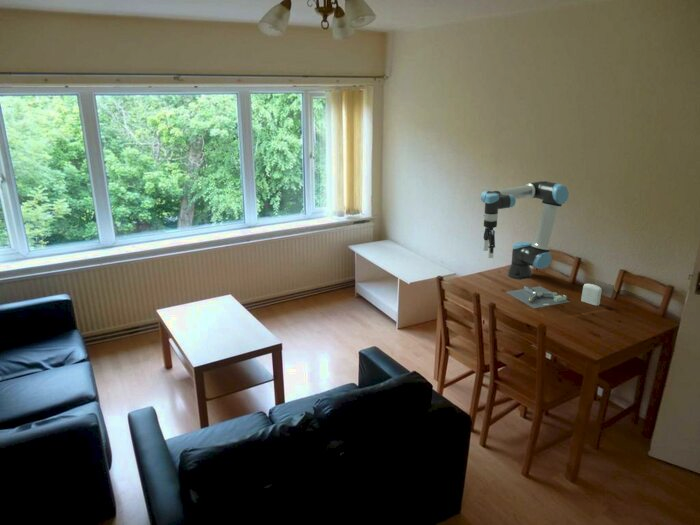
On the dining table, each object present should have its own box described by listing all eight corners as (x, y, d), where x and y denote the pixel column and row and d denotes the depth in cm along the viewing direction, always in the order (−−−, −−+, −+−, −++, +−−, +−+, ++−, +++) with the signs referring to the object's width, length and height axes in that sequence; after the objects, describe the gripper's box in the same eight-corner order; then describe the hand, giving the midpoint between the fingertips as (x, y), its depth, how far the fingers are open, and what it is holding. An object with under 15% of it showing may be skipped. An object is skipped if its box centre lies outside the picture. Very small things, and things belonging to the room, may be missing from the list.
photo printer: (579, 302, 294) (582, 283, 290) (583, 300, 296) (586, 281, 292) (596, 308, 286) (600, 288, 282) (600, 306, 289) (603, 286, 285)
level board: (539, 287, 316) (540, 281, 314) (569, 303, 293) (570, 296, 291) (505, 293, 308) (506, 286, 306) (533, 310, 284) (534, 302, 283)
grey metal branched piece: (538, 286, 314) (538, 281, 313) (559, 297, 297) (560, 292, 296) (509, 291, 307) (509, 286, 306) (529, 303, 290) (530, 298, 289)
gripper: (479, 214, 305) (477, 247, 313) (488, 225, 282) (486, 261, 289) (492, 214, 305) (490, 247, 312) (502, 225, 282) (499, 260, 289)
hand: (488, 254), depth 301 cm, fingers open, 13 cm apart
